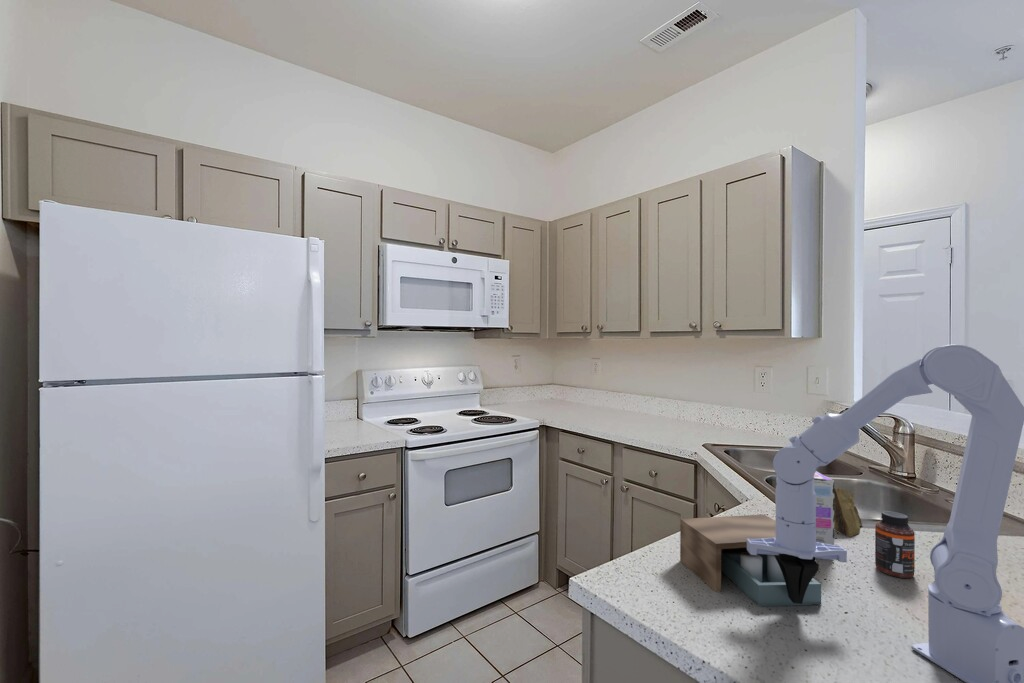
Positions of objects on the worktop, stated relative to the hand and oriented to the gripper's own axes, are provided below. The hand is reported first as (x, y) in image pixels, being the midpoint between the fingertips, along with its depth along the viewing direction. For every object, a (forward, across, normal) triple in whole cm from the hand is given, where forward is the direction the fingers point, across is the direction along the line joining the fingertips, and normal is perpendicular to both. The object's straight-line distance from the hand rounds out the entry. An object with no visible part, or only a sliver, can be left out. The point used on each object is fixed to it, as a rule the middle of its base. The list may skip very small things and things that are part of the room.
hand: (795, 600), depth 76 cm
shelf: (+2, -4, +13) cm, 14 cm away
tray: (+2, -2, +7) cm, 8 cm away
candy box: (+2, +14, +29) cm, 33 cm away
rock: (+2, +29, +41) cm, 50 cm away
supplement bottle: (+2, +25, +18) cm, 31 cm away
